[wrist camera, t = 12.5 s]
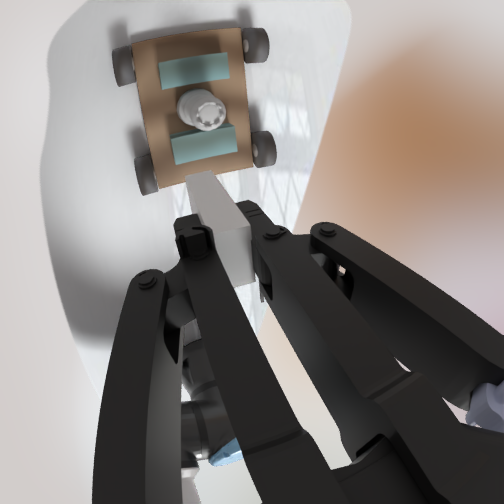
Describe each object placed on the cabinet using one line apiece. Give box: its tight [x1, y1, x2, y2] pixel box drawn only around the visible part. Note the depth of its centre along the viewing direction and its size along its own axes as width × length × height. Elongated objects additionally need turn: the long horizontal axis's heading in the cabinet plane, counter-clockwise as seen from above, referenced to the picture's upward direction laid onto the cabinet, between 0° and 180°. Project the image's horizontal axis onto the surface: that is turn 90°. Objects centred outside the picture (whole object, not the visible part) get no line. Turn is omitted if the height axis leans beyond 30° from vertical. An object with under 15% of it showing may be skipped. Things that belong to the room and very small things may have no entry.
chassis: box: [112, 28, 277, 196], centre depth 27 cm, size 18×16×4 cm
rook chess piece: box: [177, 88, 226, 131], centre depth 25 cm, size 4×4×8 cm
